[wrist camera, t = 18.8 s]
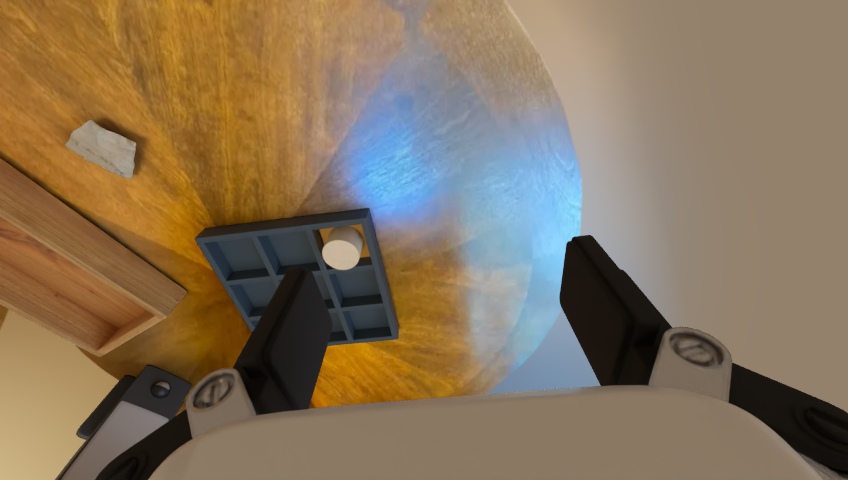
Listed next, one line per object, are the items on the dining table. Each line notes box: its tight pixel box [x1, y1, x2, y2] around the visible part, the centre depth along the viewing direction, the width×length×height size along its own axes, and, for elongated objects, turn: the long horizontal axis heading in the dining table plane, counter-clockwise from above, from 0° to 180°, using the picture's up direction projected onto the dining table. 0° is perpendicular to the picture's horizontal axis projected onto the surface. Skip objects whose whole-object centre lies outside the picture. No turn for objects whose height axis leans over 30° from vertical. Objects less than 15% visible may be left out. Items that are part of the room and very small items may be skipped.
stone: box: [65, 120, 136, 179], centre depth 34 cm, size 6×2×6 cm
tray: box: [0, 158, 187, 357], centre depth 39 cm, size 31×15×6 cm, turn 32°
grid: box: [194, 209, 399, 346], centre depth 45 cm, size 21×21×2 cm
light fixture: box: [55, 365, 192, 480], centre depth 46 cm, size 11×17×24 cm, turn 132°
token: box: [322, 226, 363, 270], centre depth 40 cm, size 4×4×3 cm
